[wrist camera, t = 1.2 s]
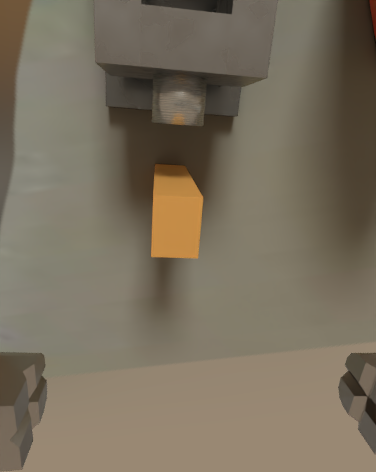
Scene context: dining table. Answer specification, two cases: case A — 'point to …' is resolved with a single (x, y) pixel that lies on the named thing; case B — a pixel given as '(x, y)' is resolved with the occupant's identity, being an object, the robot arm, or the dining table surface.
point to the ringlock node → (182, 54)
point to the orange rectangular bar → (175, 213)
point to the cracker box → (373, 14)
